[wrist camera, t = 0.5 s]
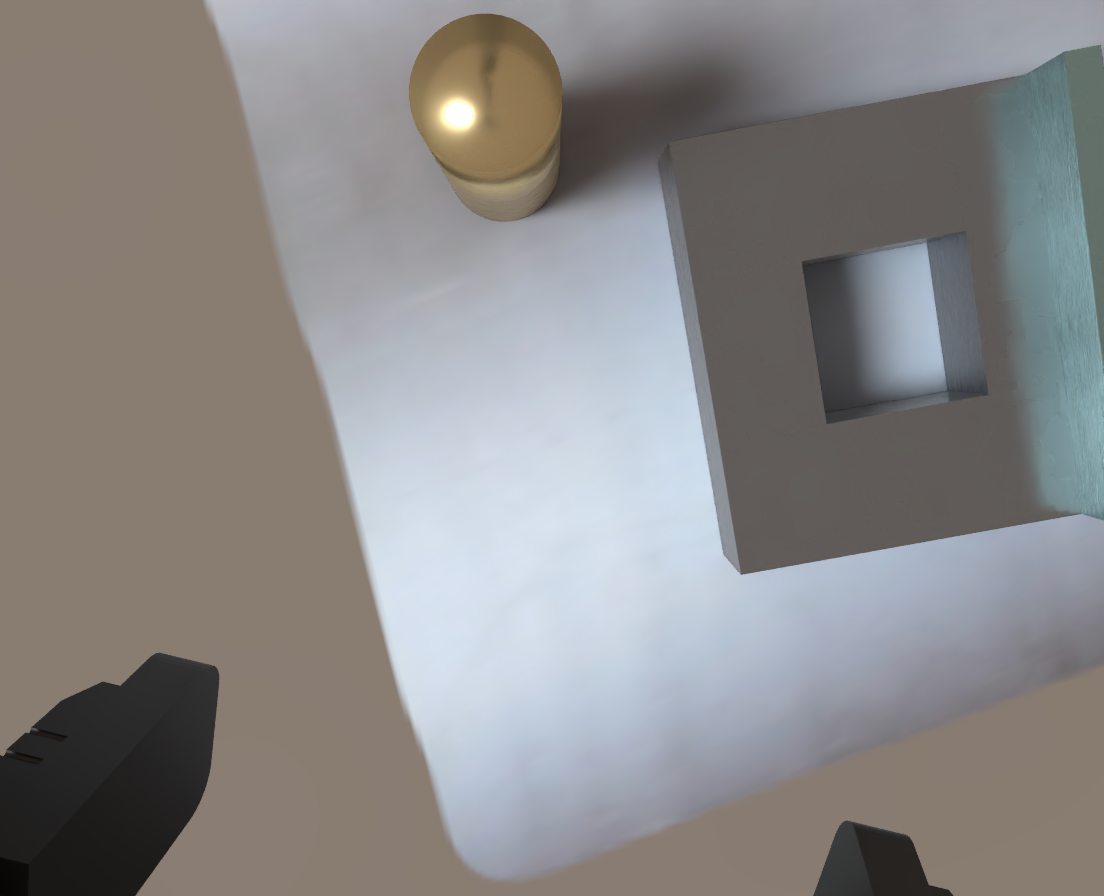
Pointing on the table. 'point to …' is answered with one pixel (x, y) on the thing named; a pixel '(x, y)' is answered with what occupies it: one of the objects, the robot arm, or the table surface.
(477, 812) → the table surface
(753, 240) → the jig
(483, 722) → the table surface
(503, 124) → the brass cylinder
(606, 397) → the table surface
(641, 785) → the table surface
